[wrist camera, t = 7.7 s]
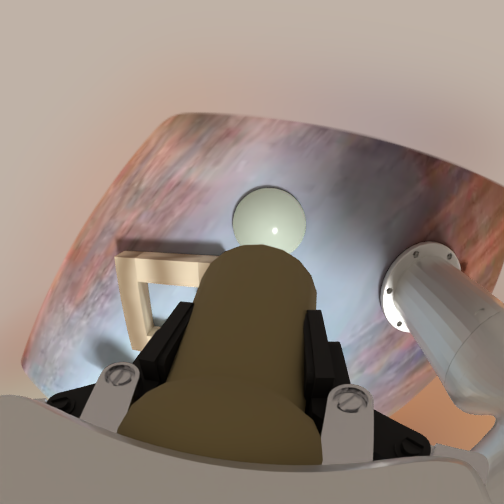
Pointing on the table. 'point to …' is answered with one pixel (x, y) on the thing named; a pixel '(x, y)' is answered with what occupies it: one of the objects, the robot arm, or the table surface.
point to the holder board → (152, 271)
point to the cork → (238, 367)
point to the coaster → (269, 220)
